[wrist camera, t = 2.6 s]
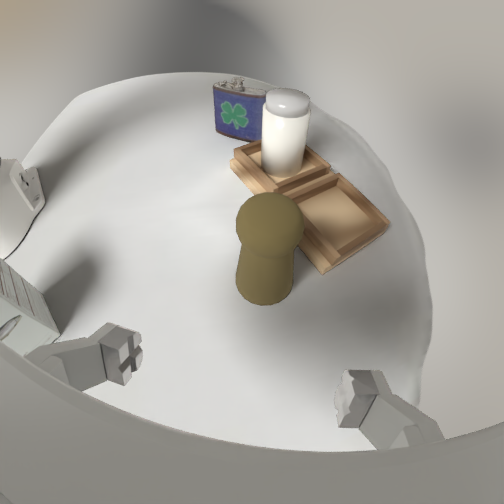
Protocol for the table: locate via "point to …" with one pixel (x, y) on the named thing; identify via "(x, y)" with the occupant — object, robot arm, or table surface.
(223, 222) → the table surface
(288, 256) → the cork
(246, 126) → the flask
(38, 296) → the supplement box
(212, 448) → the robot arm
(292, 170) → the salt shaker
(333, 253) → the caddy
